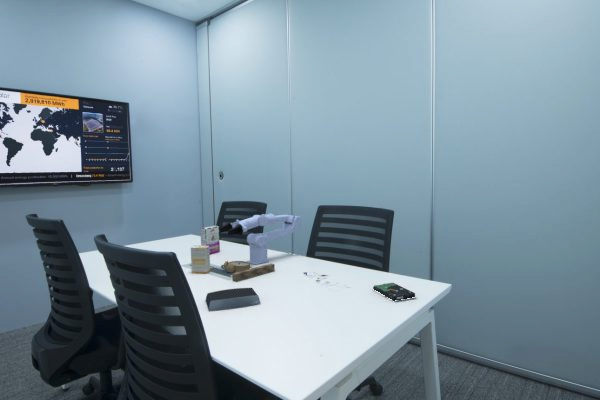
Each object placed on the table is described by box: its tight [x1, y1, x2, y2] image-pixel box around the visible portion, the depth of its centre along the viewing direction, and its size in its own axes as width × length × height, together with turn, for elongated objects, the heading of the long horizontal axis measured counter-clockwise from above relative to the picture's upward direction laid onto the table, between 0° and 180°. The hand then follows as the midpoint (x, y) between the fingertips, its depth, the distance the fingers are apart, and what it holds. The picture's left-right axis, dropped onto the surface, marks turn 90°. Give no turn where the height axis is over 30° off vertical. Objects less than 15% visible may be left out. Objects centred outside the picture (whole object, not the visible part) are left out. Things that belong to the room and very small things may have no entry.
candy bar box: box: [200, 225, 221, 255], centre depth 220 cm, size 11×5×16 cm, turn 147°
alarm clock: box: [220, 260, 253, 274], centre depth 183 cm, size 11×5×15 cm
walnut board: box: [231, 263, 276, 283], centre depth 173 cm, size 24×2×4 cm, turn 137°
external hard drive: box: [205, 287, 261, 312], centre depth 138 cm, size 13×19×4 cm
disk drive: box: [372, 282, 416, 302], centre depth 146 cm, size 10×3×15 cm
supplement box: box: [190, 245, 211, 274], centre depth 179 cm, size 8×5×13 cm, turn 84°
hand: (224, 231), depth 183 cm, fingers open, 7 cm apart
